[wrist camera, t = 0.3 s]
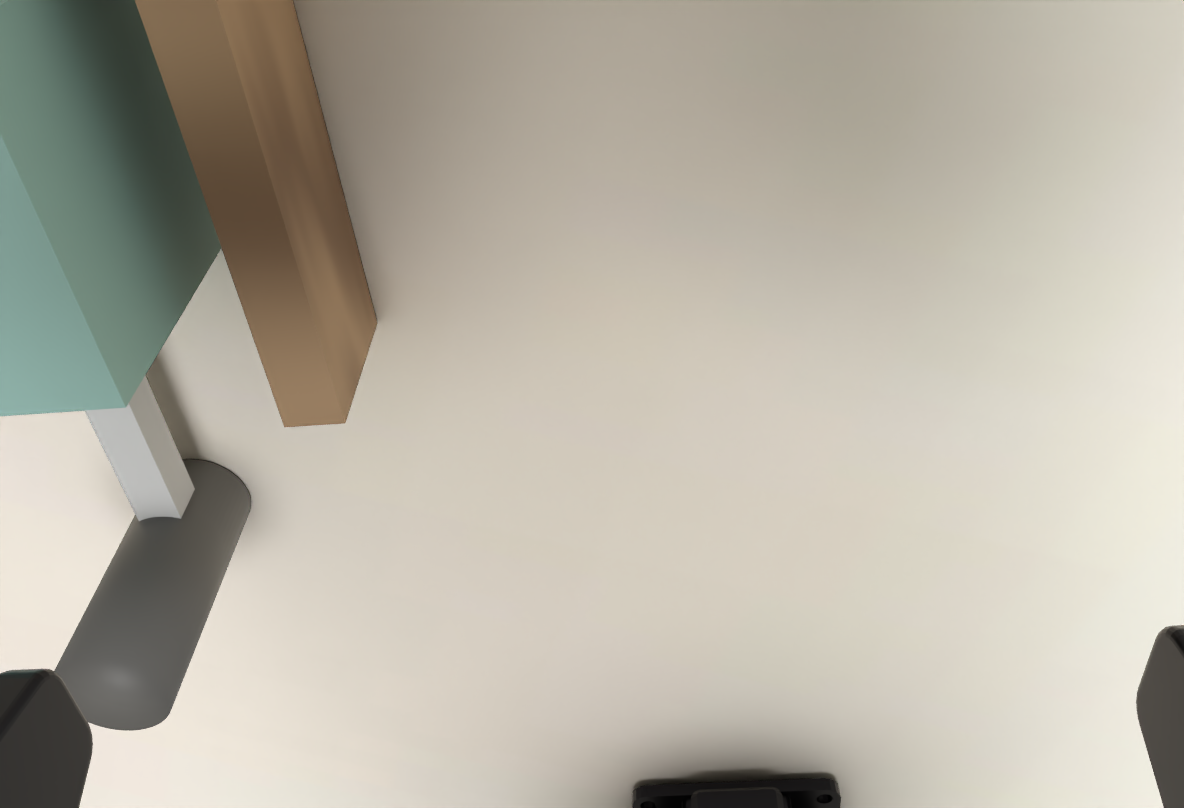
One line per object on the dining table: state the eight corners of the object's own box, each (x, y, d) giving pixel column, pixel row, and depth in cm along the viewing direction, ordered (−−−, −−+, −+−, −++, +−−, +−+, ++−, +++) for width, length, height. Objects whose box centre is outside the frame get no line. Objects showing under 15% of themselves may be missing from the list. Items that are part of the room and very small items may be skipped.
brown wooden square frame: (377, 322, 23) (345, 423, 20) (-100, 357, 24) (-193, 458, 21) (244, -187, 17) (171, -143, 14) (-387, -119, 18) (-570, -65, 15)
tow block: (331, 524, 27) (271, 724, 22) (104, 537, 27) (-3, 736, 23) (127, -81, 18) (-45, 36, 14) (-201, -47, 19) (-479, 77, 14)
